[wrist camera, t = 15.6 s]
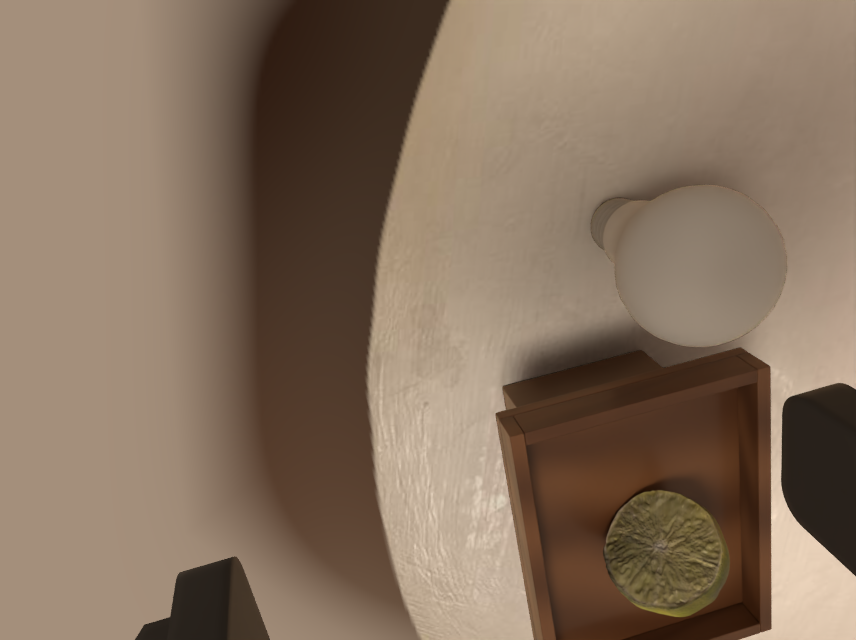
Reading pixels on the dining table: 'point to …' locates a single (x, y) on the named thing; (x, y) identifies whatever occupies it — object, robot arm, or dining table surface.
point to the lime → (666, 553)
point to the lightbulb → (694, 262)
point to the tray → (638, 486)
